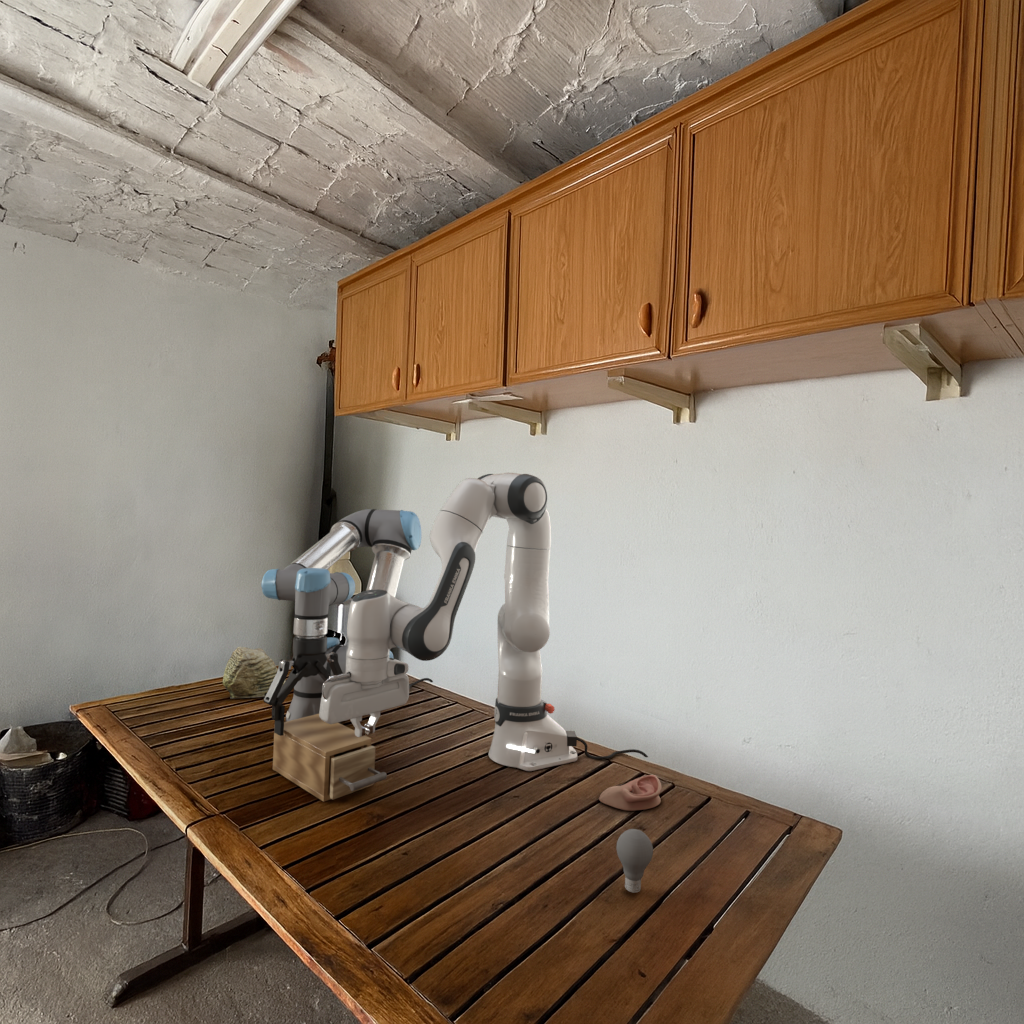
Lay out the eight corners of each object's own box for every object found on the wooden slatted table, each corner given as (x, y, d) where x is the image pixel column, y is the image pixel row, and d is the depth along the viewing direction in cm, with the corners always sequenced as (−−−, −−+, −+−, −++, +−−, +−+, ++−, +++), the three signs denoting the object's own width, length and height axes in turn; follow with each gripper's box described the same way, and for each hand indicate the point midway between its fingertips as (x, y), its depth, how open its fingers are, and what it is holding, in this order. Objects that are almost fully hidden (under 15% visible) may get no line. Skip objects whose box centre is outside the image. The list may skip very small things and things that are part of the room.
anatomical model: (598, 788, 134) (602, 766, 145) (597, 806, 134) (601, 783, 146) (662, 796, 132) (661, 774, 143) (662, 815, 132) (660, 791, 143)
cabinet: (369, 784, 140) (371, 738, 140) (323, 801, 132) (325, 752, 131) (317, 755, 154) (318, 713, 154) (272, 769, 146) (274, 724, 146)
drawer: (390, 793, 134) (391, 754, 134) (348, 809, 127) (350, 768, 127) (323, 756, 151) (325, 722, 151) (283, 769, 144) (284, 733, 144)
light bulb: (610, 879, 108) (613, 822, 108) (644, 879, 109) (647, 822, 109) (619, 902, 102) (622, 840, 102) (655, 901, 103) (658, 840, 103)
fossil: (218, 695, 195) (220, 647, 195) (278, 685, 208) (279, 640, 207) (228, 703, 189) (230, 653, 188) (289, 692, 201) (290, 645, 201)
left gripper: (267, 645, 135) (262, 744, 135) (365, 632, 153) (361, 719, 153) (250, 639, 140) (246, 735, 140) (347, 627, 158) (343, 711, 158)
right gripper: (332, 681, 122) (329, 752, 122) (414, 663, 137) (412, 726, 138) (314, 674, 126) (311, 742, 126) (396, 657, 142) (394, 719, 142)
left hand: (306, 727), depth 147 cm, fingers open, 13 cm apart
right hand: (364, 734), depth 132 cm, fingers closed
